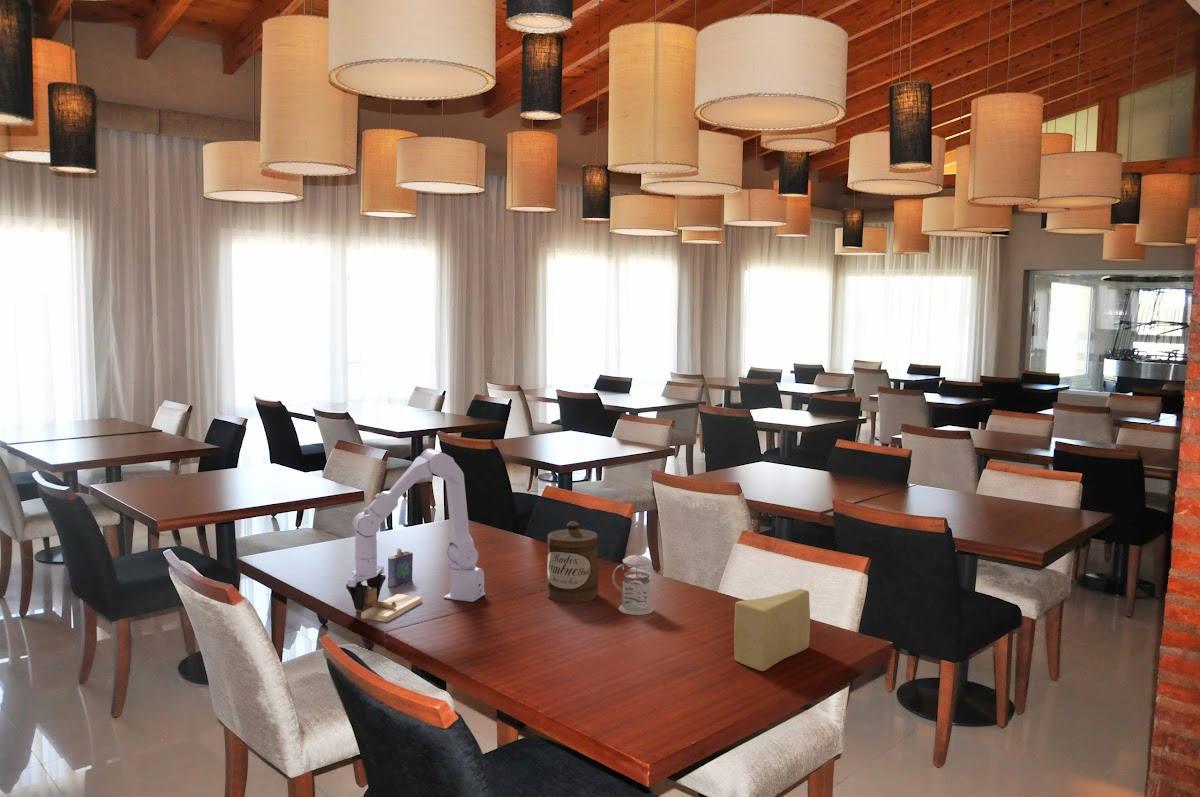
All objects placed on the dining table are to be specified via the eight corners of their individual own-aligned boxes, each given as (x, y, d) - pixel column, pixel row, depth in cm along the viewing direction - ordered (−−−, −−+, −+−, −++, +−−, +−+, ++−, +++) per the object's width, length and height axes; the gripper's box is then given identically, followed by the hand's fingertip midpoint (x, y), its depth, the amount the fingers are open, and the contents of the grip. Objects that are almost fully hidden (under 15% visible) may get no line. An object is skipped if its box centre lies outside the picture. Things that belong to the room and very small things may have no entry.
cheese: (791, 641, 236) (793, 583, 234) (822, 652, 228) (825, 593, 227) (731, 660, 222) (733, 599, 220) (762, 673, 214) (764, 610, 213)
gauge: (399, 612, 253) (398, 587, 252) (391, 616, 249) (390, 592, 248) (364, 607, 256) (364, 583, 256) (355, 611, 253) (355, 587, 252)
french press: (650, 616, 253) (652, 526, 251) (609, 612, 255) (610, 523, 253) (655, 605, 263) (657, 518, 260) (615, 601, 265) (617, 515, 263)
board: (422, 602, 262) (422, 596, 262) (387, 621, 245) (387, 616, 245) (397, 598, 264) (397, 593, 264) (361, 618, 247) (361, 612, 247)
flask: (392, 588, 274) (391, 552, 273) (385, 586, 276) (384, 551, 275) (414, 581, 282) (414, 546, 281) (407, 579, 283) (407, 545, 283)
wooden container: (539, 600, 265) (540, 524, 263) (557, 585, 280) (557, 514, 277) (588, 605, 261) (589, 529, 259) (604, 591, 275) (605, 518, 273)
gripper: (368, 549, 261) (368, 596, 262) (337, 561, 247) (338, 611, 248) (390, 551, 258) (390, 599, 259) (360, 564, 245) (360, 614, 246)
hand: (366, 605), depth 254 cm, fingers open, 7 cm apart
